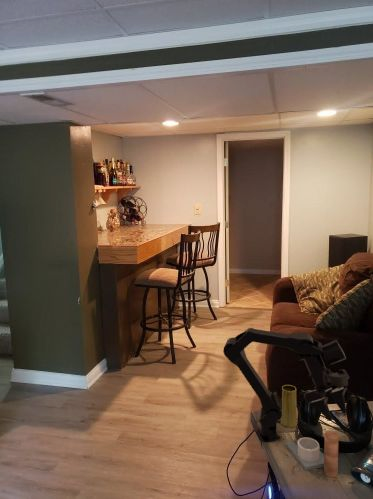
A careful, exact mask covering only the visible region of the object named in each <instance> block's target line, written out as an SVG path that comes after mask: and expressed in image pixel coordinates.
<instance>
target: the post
mask: <svg viewBox="0 0 373 499" xmlns="http://www.w3.org/2000/svg"><path fill="white" fill-rule="evenodd" d="M323 445H324V448H323V449H324V452H323V454H324V467H323V473H324V475H326V476H327V477H329V478H336V477H337V476H338V473H339V471H338V470H339V433H337V432H336V431H335V430H334V431H333V430H326V431H324V444H323Z"/></svg>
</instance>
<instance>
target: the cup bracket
mask: <svg viewBox="0 0 373 499" xmlns="http://www.w3.org/2000/svg"><path fill="white" fill-rule="evenodd" d="M284 444H285V447H286V449H287V450H288V451H289V453H291V454H292V456H293V457H294V459H296V461H297V462H298V464H299V465H301V467H302V468H303V469H304V471H305V472H306V471H309V470H315V469H319V468H324V452H322V451H321V450H320V443H319V442H318V441H317V440H316V439H314V438H312V437H306V436H304V437H299V439H294V440H292V441H288V442H285V443H284Z"/></svg>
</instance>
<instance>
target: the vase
mask: <svg viewBox="0 0 373 499" xmlns="http://www.w3.org/2000/svg"><path fill="white" fill-rule="evenodd" d="M281 399H282V417H281V419H280V423H281V425H282V426H283V427H286V428H294V427H296V426H297V425H298V413H297V409H298V408H297V388H296V386H294V385H291V384H284V385H282V387H281Z"/></svg>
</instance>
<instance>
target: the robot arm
mask: <svg viewBox="0 0 373 499" xmlns="http://www.w3.org/2000/svg"><path fill="white" fill-rule="evenodd" d="M252 343H257V344H264V345H271V346H276V347H281V348H282V347H283V348H287V349H289V350H291V351H293V352H294V353H298V354H299V355H298V358H297V361H298V362H299V361H304V363H305V366H306V368H307V370H308V372H309V375H308V376H307V377H308V378H309V380H311V379H312V382H313V384H314V386H315V387H313V389H312V390H310V391H307V392H305V393H304V396H303V398H304V400H305V403H306V404H307V403H309V405H311V406H313V407H314V409H316V410H318V411H319V413H321V414H322V415H323V416H324V418H325V419H327V420H328V421H329V422H332V421H333V417H332V414H331V411H330V409H329V408H330V407H329V404H328V401H329V400H328V399H329V396H327V394H328V393H329V395H330V397H331V398H332V400H333V401H334V403H335V404H336V405H337V407H338V408H339V410H341V412H342V413H343V414H346V413H347V405H346V399H345V395H346V391H347V390H348V386H349V381H348V380H349V379H350V378H351V377H350V376H349V373H348V371H346V369H339V370H338V372H333V371H331V369H330V368H327V367H326V365H325V363H327V365H333V364H336V363H339V362H342V361H345V360H347V357H346V354H345V352H344V350H343V348H342V346H341V345H340V344H339V342H338V340H337V339H334V340H331V341H330V342H328V343H326V344H323V345H322V342H320V341H318V340H316V339H314V338H313V337H312V335H311V334H309V333H307V332H293V333H282V332H276V331H270V330H263V329H257V328H254V327H248V328H247V329H246V330H244V331H243V332H241V333H238V334H237V335H235V337H230V338H228V339H227V341H226V342H225V344H224V347H223V350H222V351H223V352H222V353H223V355H224V356H225V357H226V358H227V359H228V361H229V362H230V363H232V364H233V365H235V366H236V367H237V368H238V369H239V371H240V372H241V374H242V375H243V377H244V378H245V380H246V381H247V383H248V384H249V385H250V387H251V389H252V390H253V391H254V393H255V394H256V396H257V397H258V399H259V401H260V404H261V407H260V414H259V423H260V429H258V430H256V433H257V434H258V436H259V438H261V440H262V441H263V442H264V443H267V442H268V443H269V442H272V441H278V440H280V439H281V436H280V434H278V433H277V432H278V431H277V426H278V425H277V422H278V421H279V420H280V421H281V417H282V397H280V395H279V394H278V392H277V391H274V392H272V391H270V390H269V388H268V387H267V386H266V384H265V383H264V380H262V379H261V377H260V375H259V374H258V372H257V371H256V369H255V368H254V366H253V365H252V363H251V362H250V361H249V359H248V357H247V354H246V351H245V349H246V348H247V347H248V346H249V345H250V344H252ZM324 362H325V363H324Z"/></svg>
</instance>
